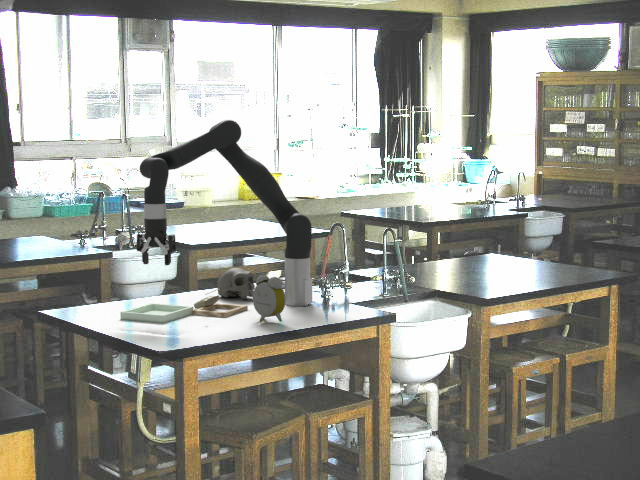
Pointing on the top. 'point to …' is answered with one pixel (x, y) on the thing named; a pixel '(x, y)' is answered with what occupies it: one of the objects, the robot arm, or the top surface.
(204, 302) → the cuneiform tablet
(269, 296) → the alarm clock
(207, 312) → the frame
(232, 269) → the skull
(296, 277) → the robot arm
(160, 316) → the tray
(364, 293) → the top surface
